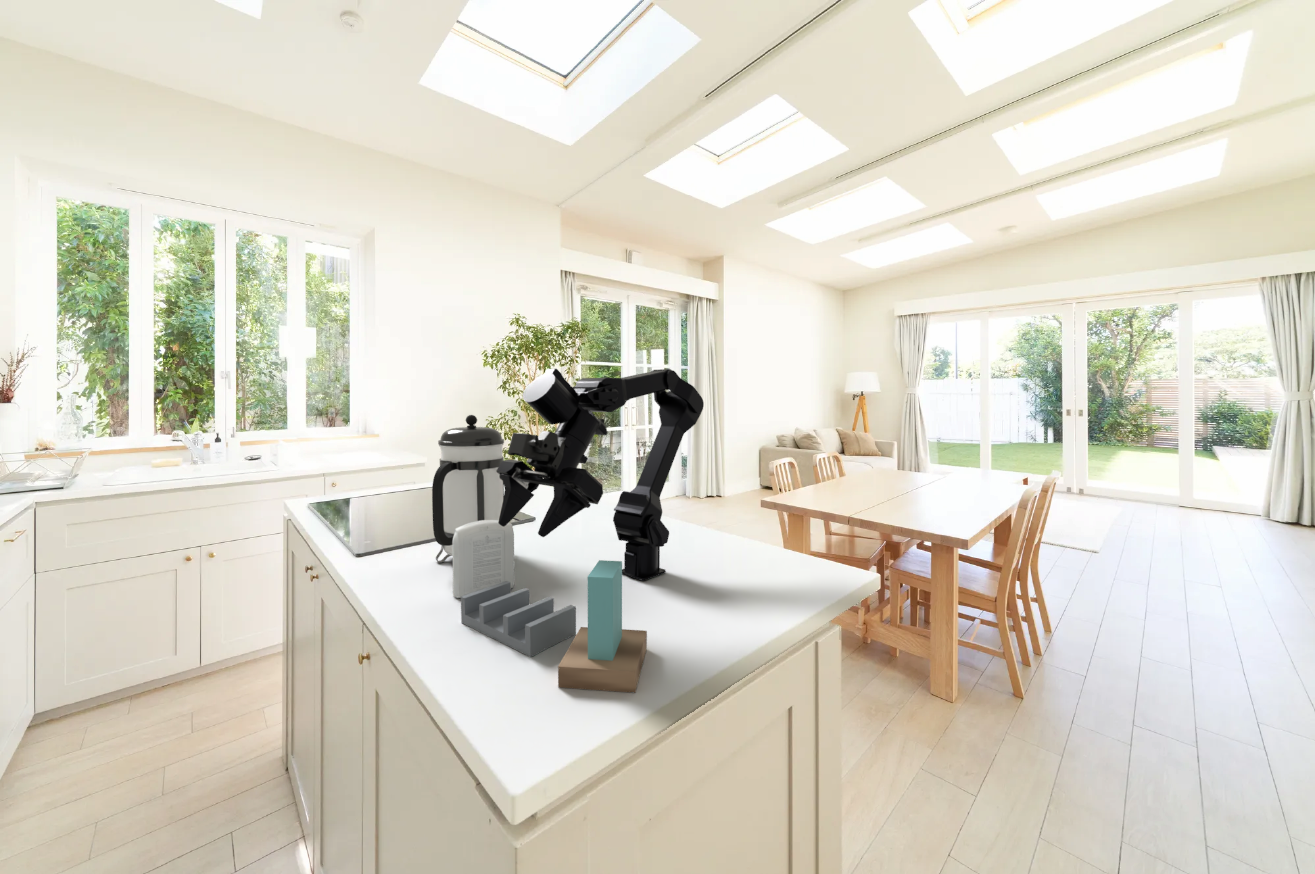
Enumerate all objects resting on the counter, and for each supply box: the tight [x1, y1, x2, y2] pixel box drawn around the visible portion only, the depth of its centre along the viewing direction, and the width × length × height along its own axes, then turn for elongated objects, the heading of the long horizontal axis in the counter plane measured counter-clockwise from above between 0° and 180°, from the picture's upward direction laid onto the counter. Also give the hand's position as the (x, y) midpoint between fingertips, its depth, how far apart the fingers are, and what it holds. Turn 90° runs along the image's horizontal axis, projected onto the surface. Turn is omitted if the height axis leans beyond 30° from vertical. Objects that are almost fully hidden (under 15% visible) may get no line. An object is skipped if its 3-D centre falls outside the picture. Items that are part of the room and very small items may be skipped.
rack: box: [460, 581, 577, 658], centre depth 71 cm, size 8×16×4 cm, turn 53°
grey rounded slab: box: [452, 520, 515, 599], centre depth 85 cm, size 10×4×12 cm, turn 123°
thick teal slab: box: [587, 559, 623, 661], centre depth 61 cm, size 6×3×10 cm, turn 174°
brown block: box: [557, 626, 648, 694], centre depth 61 cm, size 10×9×2 cm
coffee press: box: [431, 414, 505, 564], centre depth 101 cm, size 17×16×30 cm
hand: (520, 530), depth 71 cm, fingers open, 9 cm apart
